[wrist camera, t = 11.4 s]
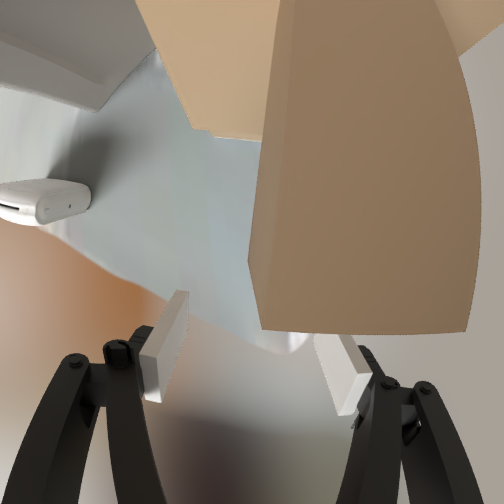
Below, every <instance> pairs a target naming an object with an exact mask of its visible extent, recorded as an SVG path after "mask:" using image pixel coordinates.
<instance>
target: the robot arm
mask: <svg viewBox="0 0 504 504" xmlns="http://www.w3.org/2000/svg"><path fill="white" fill-rule="evenodd" d="M188 308H189V291H182V290H176V292H175V293H174V295H173V297H172V298H171V300H170V302H169V303H168V305H167V307H166V308H165V310H164V312H163V313H162V315H161V317H160V318H159V320H158V322H157V323H156V325H155V327H150V326H145V325H143V326H141V327H139V328H138V329H136V330H135V332H134V333H133V335H132V336H131V338H130V339H129V341H125V340H118V339H117V340H112V341H109V342H107V343H106V344H105V345H104V346H103V354H104V359H105V364H94V363H89V360H88V358H87V357H86V356H85V355H82V354H79V353H74V354H69V355H68V356H66V357H65V358H64V359H63V360H62V362H61V364H60V365H59V367H58V369H57V371H56V373H55V374H54V377H53V378H52V380H51V382H50V384H49V386H48V387H47V390H46V391H45V393H44V395H43V397H42V399H41V401H40V404H39V406H38V407H37V410H36V412H35V414H34V416H33V418H32V420H31V423H30V425H29V427H28V429H27V432H26V434H25V436H24V439H23V441H22V444H21V446H20V449H19V451H18V454H17V457H16V459H15V462H14V465H13V467H12V471H11V473H10V476H9V479H8V483H7V486H6V489H5V493H4V496H3V500H2V503H1V504H78V499H79V494H80V489H81V483H82V478H83V473H84V468H85V463H86V459H87V454H88V451H89V447H90V442H91V439H92V435H93V431H94V427H95V424H96V420H97V417H98V413H99V410H100V407H106V414H107V428H108V429H107V430H108V440H109V450H110V458H111V466H112V473H113V479H114V485H115V490H116V496H117V500H118V504H167V500H166V497H165V494H164V491H163V488H162V485H161V482H160V478H159V475H158V471H157V468H156V464H155V460H154V456H153V452H152V448H151V445H150V440H149V435H148V431H147V426H146V421H145V416H144V410H143V405H142V400H141V398H142V396H143V393H145V399H146V400H150V401H154V402H159V403H162V400H163V397H164V394H165V391H166V388H167V386H168V383H169V380H170V377H171V375H172V372H173V369H174V366H175V364H176V361H177V358H178V355H179V353H180V350H181V347H182V345H183V342H184V339H185V337H186V334H187V331H188ZM313 343H314V346H315V349H316V352H317V354H318V357H319V360H320V363H321V366H322V369H323V372H324V375H325V378H326V381H327V383H328V386H329V390H330V393H331V396H332V399H333V401H334V405H335V407H336V411H337V414H338V416H341V415H352V414H353V413H354V411H355V409H356V407H357V408H358V410H359V414H358V416H357V418H356V420H355V421H354V423H353V426H352V427H351V429H353V428H354V426H355V428H354V433H353V438H352V443H351V448H350V452H349V457H348V461H347V465H346V469H345V473H344V477H343V481H342V484H341V488H340V491H339V495H338V498H337V501H336V504H397V497H398V489H399V479H400V465H401V461H402V465H403V470H404V475H405V480H406V484H407V490H408V495H409V501H410V504H484V503H483V500H482V496H481V493H480V490H479V487H478V484H477V481H476V478H475V475H474V473H473V470H472V467H471V465H470V462H469V459H468V457H467V455H466V452H465V449H464V447H463V445H462V442H461V440H460V437H459V435H458V433H457V431H456V429H455V426H454V424H453V422H452V420H451V417H450V415H449V413H448V411H447V409H446V407H445V405H444V403H443V401H442V399H441V397H440V395H439V393H438V391H437V389H436V388H435V386H434V385H432V384H431V383H429V382H426V381H419V382H417V383H416V384H415V386H414V387H413V388H404V387H400V384H399V382H397V380H395V379H394V378H392V377H389V376H385V374H384V372H383V371H382V369H381V367H380V366H379V364H378V362H377V361H376V359H375V358H374V356H373V354H372V353H371V351H370V350H369V349H367V348H366V347H365V346H363V345H357V344H356V343H355V341H354V339H353V338H352V336H351V335H344V334H318V333H316V334H315V337H314V341H313ZM419 421H420V423H421V426H420V424H419Z"/></svg>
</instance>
